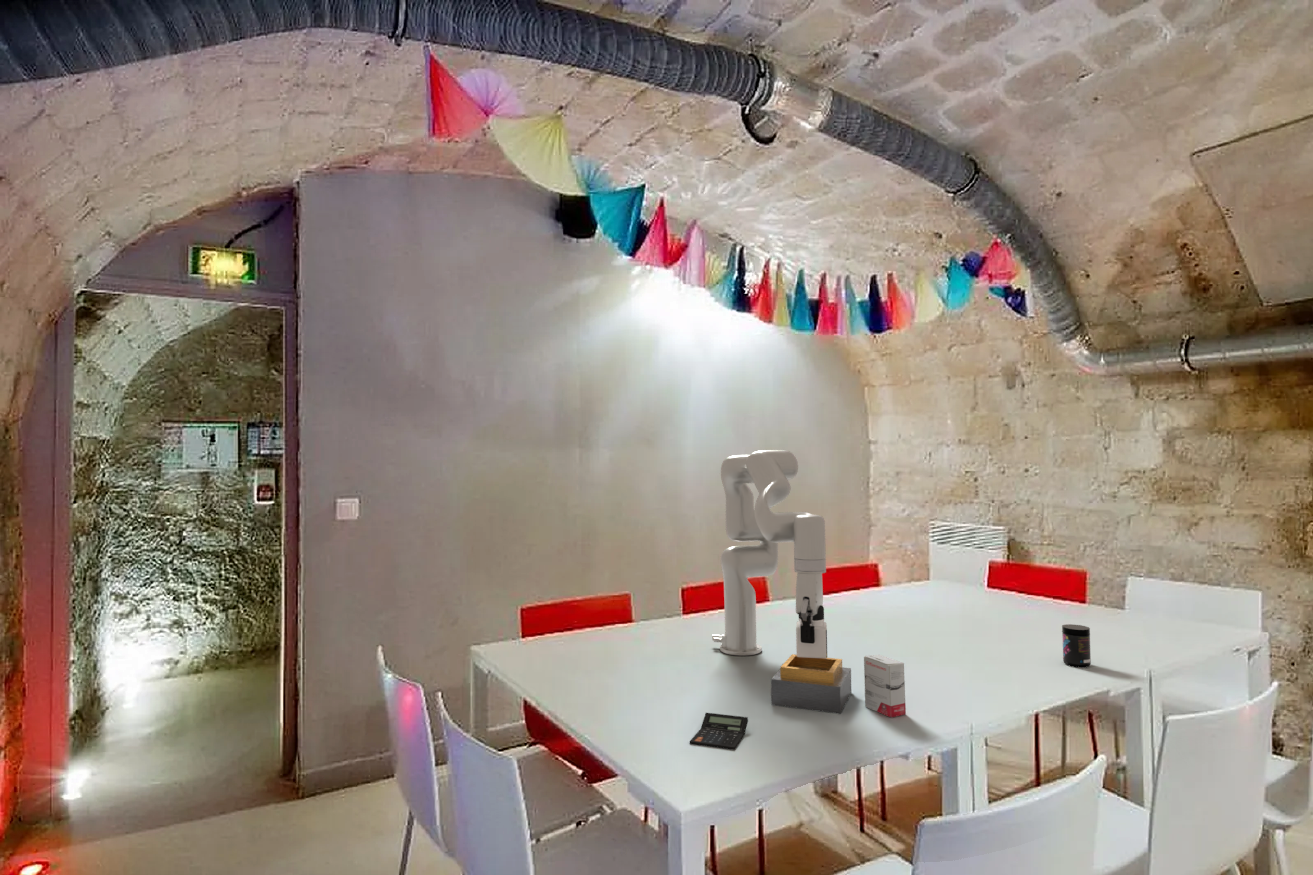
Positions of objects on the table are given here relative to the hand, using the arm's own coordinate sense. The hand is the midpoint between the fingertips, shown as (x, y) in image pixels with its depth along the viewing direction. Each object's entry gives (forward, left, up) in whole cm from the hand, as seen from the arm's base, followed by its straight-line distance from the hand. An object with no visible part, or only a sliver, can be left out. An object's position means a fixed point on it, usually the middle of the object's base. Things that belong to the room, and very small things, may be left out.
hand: (811, 638), depth 173 cm
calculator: (-13, -31, -15) cm, 37 cm away
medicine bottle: (0, 0, -4) cm, 4 cm away
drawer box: (0, +1, -14) cm, 15 cm away
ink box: (+17, -2, -15) cm, 23 cm away
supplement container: (+62, +56, -15) cm, 85 cm away
